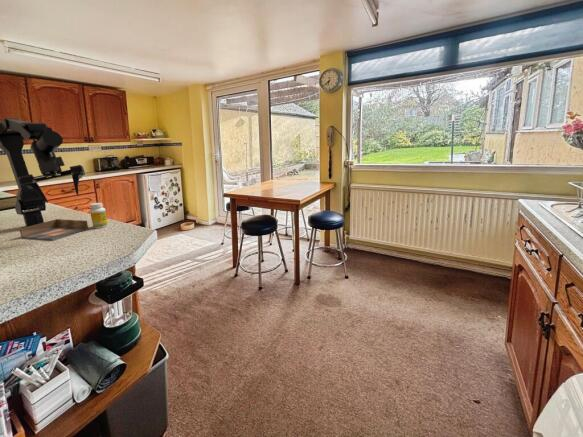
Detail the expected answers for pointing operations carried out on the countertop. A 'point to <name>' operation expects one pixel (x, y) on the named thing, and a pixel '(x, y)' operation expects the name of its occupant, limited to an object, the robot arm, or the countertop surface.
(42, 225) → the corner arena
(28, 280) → the countertop surface
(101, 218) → the supplement bottle
